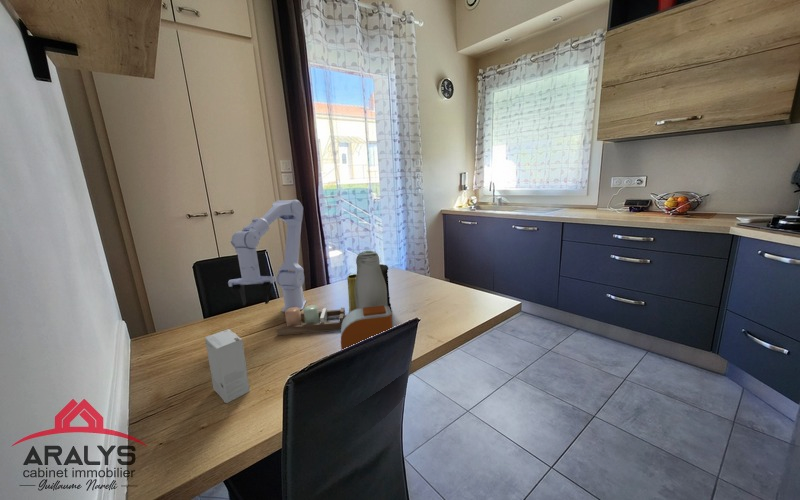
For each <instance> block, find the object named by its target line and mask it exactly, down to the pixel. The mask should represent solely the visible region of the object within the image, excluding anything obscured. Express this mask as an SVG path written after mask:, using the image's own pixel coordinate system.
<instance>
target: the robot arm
mask: <svg viewBox="0 0 800 500" xmlns="http://www.w3.org/2000/svg"><path fill="white" fill-rule="evenodd" d="M303 215H304V206H303V204H302V203H301V201H300V200H298V199H290V200H287V199H286V200H284V199H283V200H280V199H278V200H275V201H274V202H272V204H271V207H270V209H268V211H267V212H266V213H265V214H264V215H263V216H261V217H256V218H255V217H254V218H253V219H251V221H250V223H249V224H248V225H245V226H243V228H242V230H241V231H240V230H237V231H236V232H234V233H233V234H232V236H231V241H230V244H231V246H232V247H233V248H234V249H235V253H236V255H237V259H238V264H239V265H238V266H239V270H240V275H241V277H239V278H234V279H229V280H228V282H227V284H228V287H229V288H230V287H231V291H232V293H234V295H235V296H236V298H238V300H239V301H240V304H241V307H244V306H246V304H247V299H246V292H245V285H260V284H261V286H260V287H261V290H262V294H263V301H264V303H265V305H267V304H269V303H270V294H271V289H272V286H273V284H274V283H275V282H276V284H277V285H278V286H280V287H279V288H281V289H282V295H283V303H284V307H282V309H281V310H282V312H283V313H285V310H286V309H288V308H292V307H299V308H300V311H303V309H304V308H305V306H306V303H307V299H305V297H304V290H303V284H304V283H305V274H304V272H305V271H304V267H302V266H301V265H300V264H299V260H300V259H299V258H300V246H301V245H300V244H301V232H302V223H303ZM277 219H280V220H281V221H283V222H284V223H285V224H286V225H287V229H286V239H285V240H286V241H285V250H284V251H285V253H284V260H283V261H284V263H282V264H281V265H280V266H279V267H278V273H277V274H276V277H275V276H274V275H272V276H271V275H261V272H260V266H259V259H258V252H257V247H258V245H259V244H260V240H261V238H262V237H263V236H264V235H265V234H266V233H267V232H268V231H269V229H270V225H272V223H274V222H275V221H276V220H277ZM275 278H276V279H275Z"/></svg>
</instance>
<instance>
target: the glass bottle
mask: <svg viewBox="0 0 800 500" xmlns="http://www.w3.org/2000/svg"><path fill="white" fill-rule="evenodd" d="M380 263H381V261H380V257H379V254H378V252H376V251H374V250H364V251H362V252H359V253H358V254H357V256H356V258H355V264H356V273H355V274H356V280H355V287H354V291H355V300H356V308H362V307H371V306H380V305H387V288H386V283H385V280H384V277H383V275H382V272H381V268H380Z"/></svg>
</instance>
